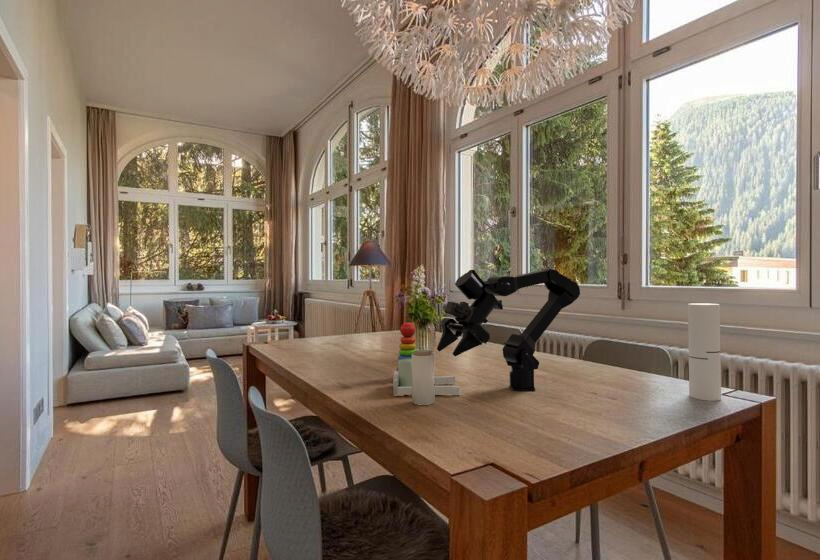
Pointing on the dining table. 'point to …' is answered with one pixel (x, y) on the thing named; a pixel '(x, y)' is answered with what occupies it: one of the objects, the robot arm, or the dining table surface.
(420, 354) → the cream jar
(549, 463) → the dining table surface
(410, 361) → the grey-green cylinder
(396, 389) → the white u-shaped frame
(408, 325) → the stacking toy
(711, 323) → the cylindrical container
